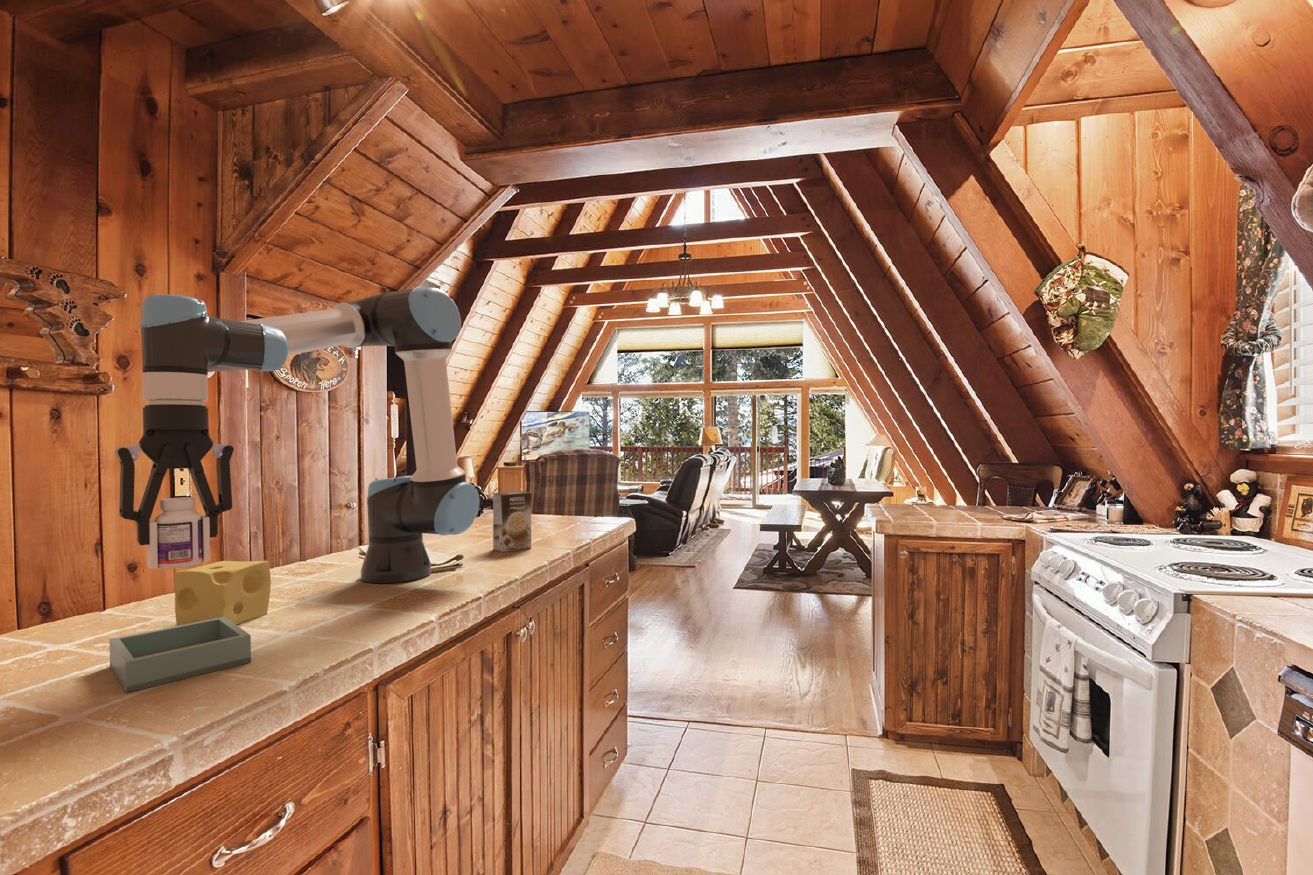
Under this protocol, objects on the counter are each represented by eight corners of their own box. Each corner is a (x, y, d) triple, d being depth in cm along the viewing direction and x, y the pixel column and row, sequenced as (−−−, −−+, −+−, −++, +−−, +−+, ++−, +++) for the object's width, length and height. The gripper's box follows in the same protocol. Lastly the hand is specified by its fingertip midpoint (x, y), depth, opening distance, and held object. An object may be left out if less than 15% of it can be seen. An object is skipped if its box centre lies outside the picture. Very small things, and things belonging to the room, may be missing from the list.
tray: (225, 641, 100) (224, 616, 99) (251, 662, 90) (250, 634, 90) (109, 666, 89) (109, 638, 89) (125, 693, 80) (125, 662, 80)
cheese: (222, 631, 105) (221, 572, 105) (171, 628, 107) (169, 570, 107) (272, 613, 115) (271, 560, 115) (224, 610, 117) (223, 558, 117)
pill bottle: (177, 561, 92) (176, 496, 92) (211, 561, 92) (210, 496, 92) (145, 569, 87) (143, 500, 87) (181, 569, 87) (180, 500, 87)
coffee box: (502, 552, 171) (501, 494, 170) (492, 549, 176) (491, 493, 175) (532, 548, 177) (531, 492, 176) (521, 545, 181) (520, 490, 181)
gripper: (242, 406, 99) (245, 550, 99) (87, 403, 85) (90, 571, 85) (257, 404, 94) (260, 556, 94) (94, 401, 80) (97, 579, 80)
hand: (179, 563), depth 90 cm, fingers closed on pill bottle, 5 cm apart
